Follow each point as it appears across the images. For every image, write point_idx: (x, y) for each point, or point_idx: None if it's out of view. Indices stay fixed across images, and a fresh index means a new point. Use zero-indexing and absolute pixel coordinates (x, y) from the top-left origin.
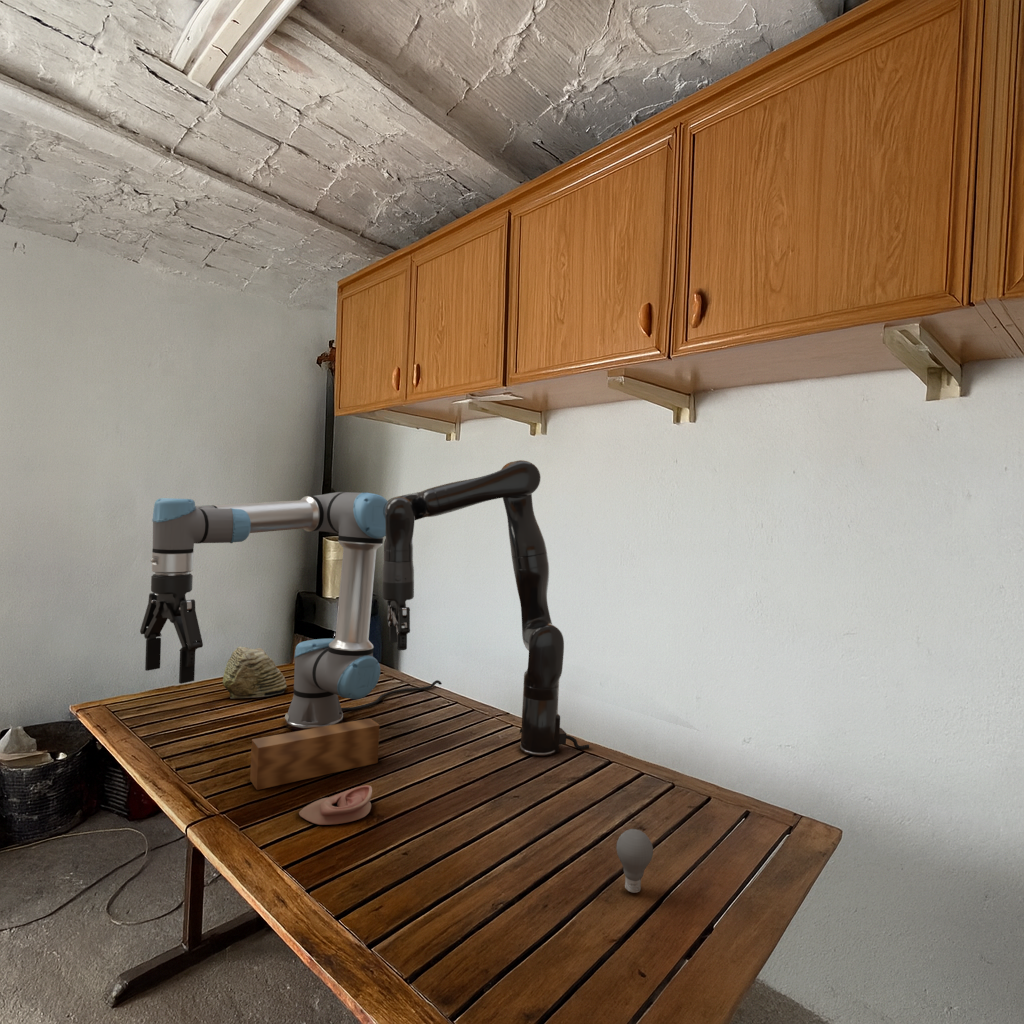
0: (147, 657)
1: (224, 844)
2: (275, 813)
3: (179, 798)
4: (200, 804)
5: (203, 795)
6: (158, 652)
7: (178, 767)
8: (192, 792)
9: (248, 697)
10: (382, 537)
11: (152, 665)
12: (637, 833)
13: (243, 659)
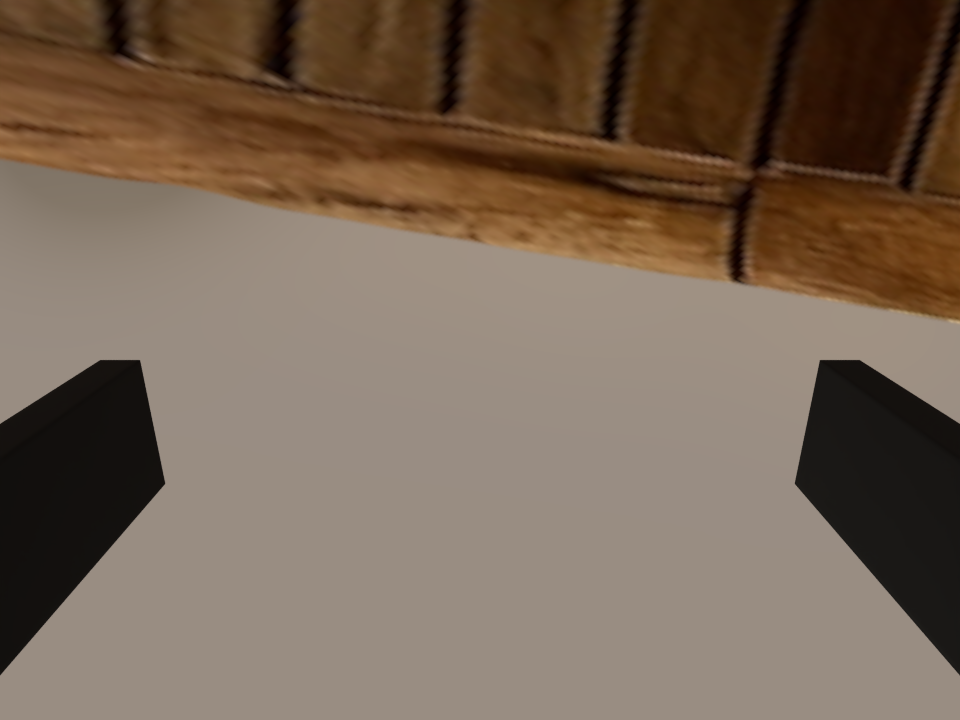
0: (83, 575)
1: (928, 271)
2: (937, 32)
3: (539, 203)
4: (641, 179)
5: (586, 132)
6: (22, 478)
7: (264, 57)
8: (530, 146)
9: None
10: None
11: (132, 459)
12: None
13: None
